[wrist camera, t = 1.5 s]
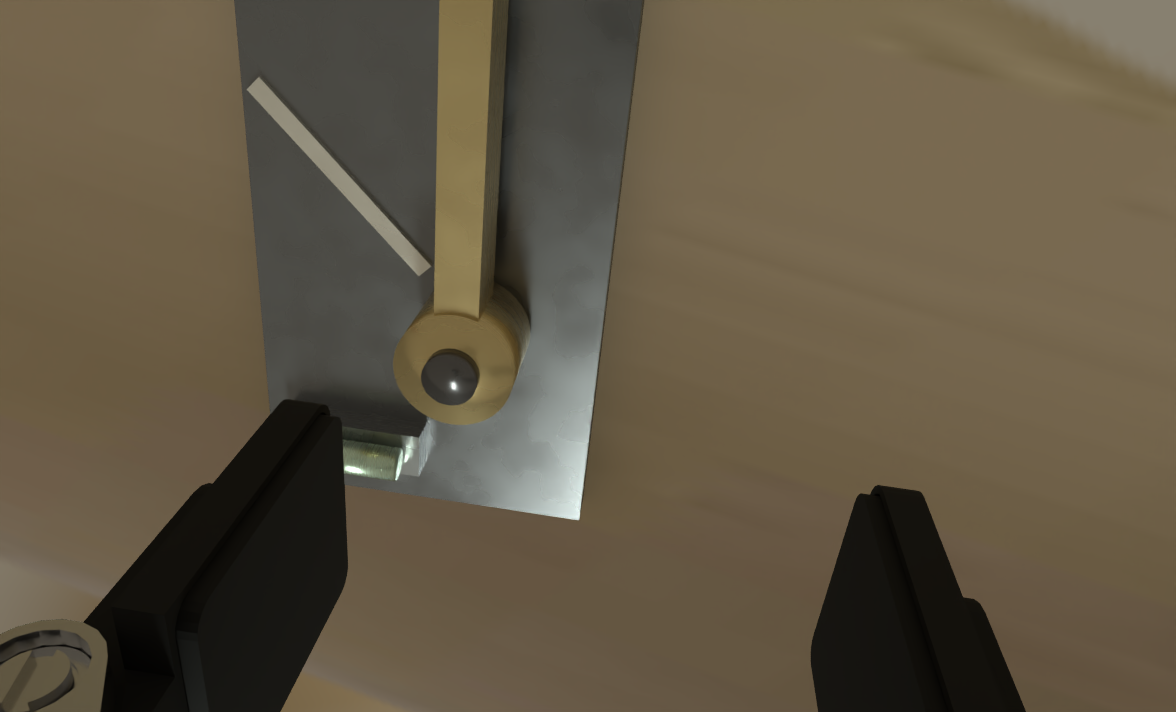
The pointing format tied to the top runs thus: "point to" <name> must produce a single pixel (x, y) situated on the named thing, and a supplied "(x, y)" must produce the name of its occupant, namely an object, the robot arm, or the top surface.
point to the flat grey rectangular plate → (407, 229)
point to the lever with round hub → (466, 234)
